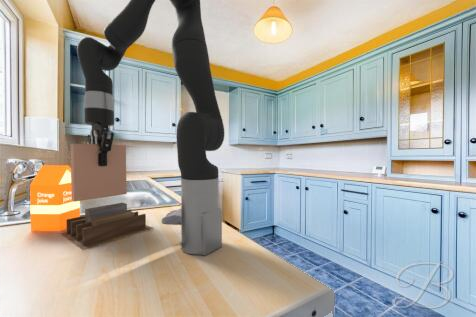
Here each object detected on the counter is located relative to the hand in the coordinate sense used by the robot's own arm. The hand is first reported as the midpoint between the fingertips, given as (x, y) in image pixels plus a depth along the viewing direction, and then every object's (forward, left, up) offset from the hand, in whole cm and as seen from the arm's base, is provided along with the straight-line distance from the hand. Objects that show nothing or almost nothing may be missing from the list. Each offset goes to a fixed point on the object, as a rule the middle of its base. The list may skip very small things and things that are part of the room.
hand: (100, 165), depth 63 cm
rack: (-5, 0, -20) cm, 21 cm away
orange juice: (+12, +8, -20) cm, 25 cm away
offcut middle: (-4, 0, -19) cm, 19 cm away
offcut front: (-8, 0, -19) cm, 21 cm away
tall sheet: (0, 0, -10) cm, 10 cm away
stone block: (-12, -20, -20) cm, 31 cm away
